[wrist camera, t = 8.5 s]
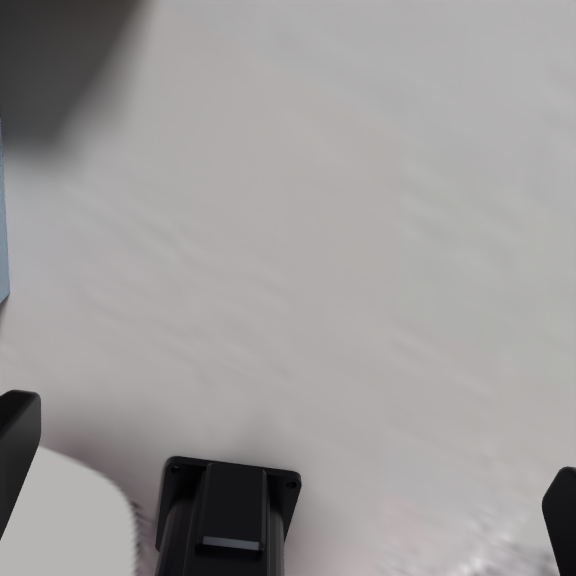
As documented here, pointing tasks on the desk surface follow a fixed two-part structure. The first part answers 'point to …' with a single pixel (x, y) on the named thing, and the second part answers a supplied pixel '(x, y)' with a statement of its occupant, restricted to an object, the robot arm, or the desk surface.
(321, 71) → the desk surface
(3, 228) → the light blue rectangular block
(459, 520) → the desk surface
